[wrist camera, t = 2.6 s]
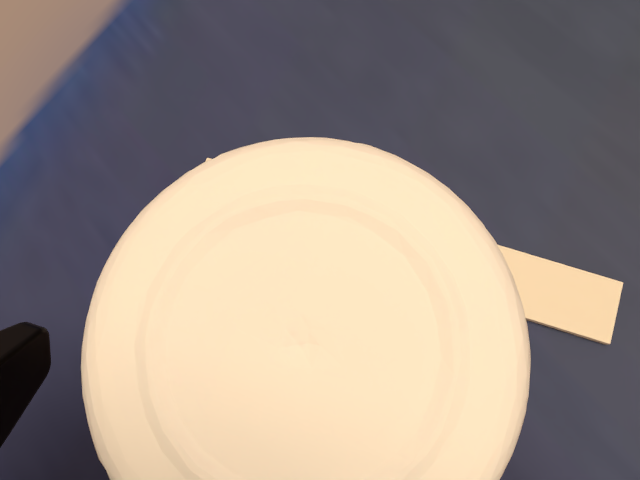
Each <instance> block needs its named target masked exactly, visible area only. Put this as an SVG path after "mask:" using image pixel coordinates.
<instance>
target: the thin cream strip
mask: <svg viewBox="0 0 640 480" xmlns="http://www.w3.org/2000/svg"><path fill="white" fill-rule="evenodd" d="M209 160H211V159H210V158H207V159H206V162H207V161H209ZM498 247H499V249H500V251H501V252H502V254H503V256H504V258H505V260H506V262H507V265H508V267H509V269H510V271H511V273H512V275H513V278H514V281H515V284H516V286H517V289H518V292H519V295H520V298H521V301H522V304H523V309H524V313H525V318H526V320H528V321H532V322H535V323H538V324H541V325H544V326H548V327H551V328H554V329H557V330H560V331H564V332H567V333H570V334H573V335H576V336H580V337H583V338H586V339H589V340H593V341H596V342H599V343H602V344H605V345H607V344H610V342H611V338H612V333H613V328H614V323H615V319H616V314H617V309H618V305H619V300H620V295H621V290H622V286H623V282H620V281H616V280H613V279H610V278H606V277H603V276H600V275H596V274H593V273H590V272H586V271H583V270H580V269H576V268H573V267H570V266H566V265H563V264H560V263H556V262H553V261H550V260H546V259H543V258H540V257H536V256H533V255H530V254H526V253H523V252H520V251H516V250H513V249H510V248H506V247H503V246H500V245H498Z"/></svg>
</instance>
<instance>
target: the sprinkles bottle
mask: <svg viewBox="0 0 640 480" xmlns="http://www.w3.org/2000/svg"><path fill="white" fill-rule="evenodd" d="M530 362H531V356H530V343H529V335H528V327H527V322H526V318H525V313H524V309H523V304H522V301H521V298H520V295H519V292H518V289H517V286H516V284H515V281H514V278H513V275H512V273H511V271H510V269H509V267H508V265H507V262H506V260H505V258H504V256H503V254H502V252H501V251H500V249H499V247H498V245H497V244H496V242H495V240H494V239H493V237H492V236H491V235H490V233H489V232H488V231H487V229H486V228H485V227H484V225H483V223H482V222H481V221H480V220H479V219H478V218H477V216H476V215H475V214H474V213H473V212H472V210H471V209H470V208H469V207H468V206H467V205H466V204H465V203H464V202H463V201H462V200H461V199H460V198H459V197H458V196H456V195H455V194H454V193H453V192H452V191H451V190H450V189H449V188H448V187H446V186H445V185H444V184H442V183H441V182H440V181H438V180H437V179H435V178H434V177H433V176H431V175H430V174H429V173H427V172H425V171H423V170H422V169H420V168H418V167H416V166H414V165H413V164H411V163H409V162H407V161H405V160H403V159H401V158H400V157H398V156H396V155H393V154H391V153H388V152H385V151H383V150H380V149H377V148H375V147H372V146H370V145H366V144H361V143H353V142H350V141H344V140H338V139H331V138H315V137H305V138H285V139H276V140H271V141H266V142H261V143H256V144H252V145H249V146H245V147H241V148H238V149H235V150H232V151H229V152H226V153H223V154H221V155H219V156H217V157H216V158H214V159H211V160H209V161H207V162H204V163H202V164H201V165H199V166H198V167H196V168H194V169H193V170H191V171H188V172H187V173H186V174H184V175H183V176H182V177H180V178H179V179H178V180H176V181H175V182H174V183H172V184H171V185H170V186H168V187H167V188H166V189H164V190H163V191H162V192H161V193H160V194H159V195H158V196H157V197H156V198H155V199H153V200H152V201H151V202H150V203H149V204H148V205H147V206H146V207H145V208H144V209H143V210H142V211H141V212H140V213H139V215H138V216H137V217H136V218H135V220H134V221H133V222H132V223H131V225H130V226H129V227H128V228H127V230H126V231H125V232H124V234H123V235H122V237H121V238H120V240H119V241H118V243H117V245H116V246H115V248H114V249H113V251H112V253H111V255H110V257H109V258H108V260H107V262H106V264H105V266H104V268H103V270H102V273H101V275H100V277H99V279H98V282H97V285H96V288H95V290H94V293H93V296H92V300H91V304H90V308H89V311H88V315H87V319H86V323H85V330H84V337H83V344H82V356H81V376H82V394H83V400H84V405H85V410H86V415H87V421H88V425H89V429H90V432H91V436H92V440H93V443H94V446H95V449H96V452H97V455H98V458H99V460H100V461H101V463H102V465H103V466H104V468H105V469H106V471H107V474H108V476H109V479H110V480H500V478H501V476H502V474H503V472H504V470H505V468H506V466H507V464H508V462H509V460H510V458H511V456H512V454H513V451H514V448H515V445H516V443H517V440H518V437H519V434H520V431H521V428H522V424H523V420H524V417H525V413H526V406H527V401H528V395H529V380H530Z"/></svg>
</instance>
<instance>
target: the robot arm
mask: <svg viewBox="0 0 640 480" xmlns="http://www.w3.org/2000/svg"><path fill="white" fill-rule="evenodd" d="M50 365H51V355H50V339H49V332H48V331H47V329H46V328H44V327H41V326H38V325H35V324H32V323H29V322H22V323H18V324H16V325H13V326H11V327H8V328H6V329H3V330H1V331H0V447H1V446H2V444H3V443H4V441H5V440H6V438H7V437H8V435H9V434H10V432H11V431H12V429H13V428H14V426H15V424H16V423H17V421H18V420H19V418H20V417H21V415H22V414H23V412H24V410H25V409H26V407H27V406H28V404H29V403H30V401H31V400H32V398H33V396H34V395H35V393H36V392H37V390H38V389H39V387H40V386H41V384H42V383H43V381H44V379H45V378H46V376H47V374H48V372H49V369H50Z"/></svg>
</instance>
